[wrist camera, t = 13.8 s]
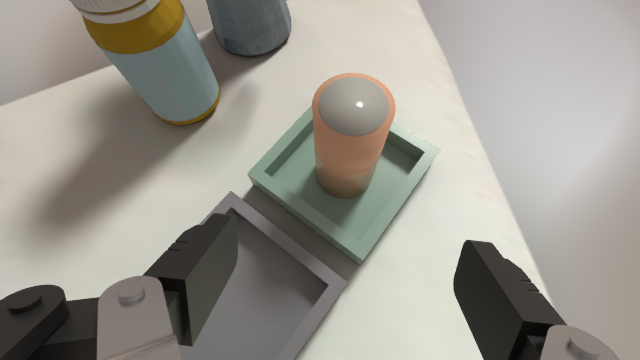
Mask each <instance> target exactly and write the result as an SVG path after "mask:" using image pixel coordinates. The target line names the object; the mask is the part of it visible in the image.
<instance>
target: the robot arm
mask: <svg viewBox="0 0 640 360" xmlns="http://www.w3.org/2000/svg"><path fill="white" fill-rule="evenodd" d="M237 258H238V235H237V218H236V216H235V215H232V214H222V213H213V214H212V215H211V216H210V217H209V218H208V219H207V221H206V222H205V223H204V224H203V225H196V226H194V227H192V228H190V229H188V230H186V231H184V232H183V233H182V234H181V235H180V236H179V238H178V239H177V240H176V241H175V243H173V244H172V245H171V246H170V247H169V248H168V250H166V251H165V252H164V253H163V254H162V256H161V257H160V258H159V259H158V260H157V261H156V262H155V263H154V264H153V265H152V266H151V267H150V268H149V269H148V270H147V271H146V272H145V273H144V275H143V276H135V277H131V278H127V279H124V280H122V281H119V282H117V283H115V284H113V285H112V286H110V287H109V288H108V289H106V290H105V291H104V292H103V294H102V295H101V296H100V297H98V298H89V299H81V300H72V301H66V297H65V294H64V291H63V289H62V288H60V287H58V286H55V285H39V286H34V287H30V288H26V289H23V290H20V291H18V292H15V293H13V294H11V295H9V296H7V297H5V298H3V299H2V300H0V360H182V358H181V354H180V350H179V346H178V345H183V346H191V347H193V345H194V343H195V341H196V340H197V338H198V336H199V334H200V332H201V330H202V328H203V327H204V325H205V323H206V321H207V319H208V317H209V315H210V314H211V312H212V310H213V308H214V306H215V304H216V302H217V301H218V299H219V297H220V295H221V293H222V291H223V290H224V288H225V286H226V284H227V282H228V280H229V278H230V277H231V275H232V273H233V271H234V269H235V266H236V263H237ZM453 286H454V293H455V296H456V299H457V301H458V303H459V305H460V307H461V310H462V312H463V314H464V316H465V319H466V321H467V323H468V325H469V328H470V330H471V332H472V334H473V337H474V339H475V341H476V343H477V345H478V348H479V350H480V352H481V354H482V357H483V359H484V360H619V358H618V357H617V356H616V354H615V353H614V352H613V351H612V350H611V349H610V348H609V347H608V346H607V345H605V344H604V343H603V342H602V341H600V340H599V339H597V338H596V337H594V336H592V335H590V334H589V333H587V332H585V331H582V330H580V329H577V328H574V327H571V326H568V325H567V324H566V323H565V322H564V321H563V319H562V318H561V317H560V316H559V314H558V313H557V312H556V311H555V309H554V308H553V307H552V306H551V305H550V303H549V302H548V301H547V300H546V298H545V297H544V296H543V295H542V294H541V293H539V290H538V289H537V287H536V286H535V285H534V284H533V283H531V280H530V279H529V278H528V276H527V275H526V274H525V273H524V272H523V270H522V269H521V268H519V267H518V266H516V265H515V264H514V263H512V262H511V261H510V260H508V259H504V258H503V257H502V255H501V254H500V253H499V251H498V250H497V249H496V248H495V246H494V245H493V244H492V243H490V242H482V241H473V240H466V241H465V243H464V244H463V247H462V251H461V254H460V258H459V261H458V265H457V268H456V272H455V275H454V282H453Z"/></svg>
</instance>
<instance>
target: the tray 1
mask: <svg viewBox="0 0 640 360" xmlns="http://www.w3.org/2000/svg"><path fill="white" fill-rule="evenodd" d="M439 152H440V149H438V148H437V147H435V146H433V145H432V144H430V143H428V142H427V141H425V140H423V139H422V138H420V137H418V136H417V135H415V134H413V133H412V132H410V131H408V130H407V129H405V128H403V127H402V126H400V125H398V124H397V123H395V122H393V121H392V124H391V127H390V130H389V133H388V135H387V138H386V141H385V144H384V147H383V149H382V152H381V155H380V158H379V161H378V164H377V166H376V169H375V172H374V175H373V178H372V180H371V183H370V185H369V187H368V188H367V189H366V190H365V191H364V192H363V193H362V194H360V195H359V196H357V197H354V198H349V199H340V198H336V197H333V196H331V195H329V194H327V193H326V192H325V191H324V190H323V189H322V188H321V187H320V185H319V183H318V181H317V178H316V167H315V149H314V131H313V114H312V105H311V107H310V108H309V109H308V110H307V111H306V112H305V113H304V114H303V115H302V116H301V117H300V118H299V119H298V120H297V121H296V122H295V124H294V125H293V126H292V127H291V128H290V129H289V130H288V131H287V132H286V133H285V134H284V135H283V136H282V137H281V138H280V139H279V140H278V142H277V143H276V144H275V145H274V146H273V147H272V148H271V149H270V150H269V151H268V152H267V153H266V154H265V155H264V156H263V157H262V158H261V160H260V161H259V162H258V163H257V164H256V165H255V166H254V167H253V168H252V169H251V170H250V171H249V172H248V173H247V174H248V176H249V177H250V179H251V181H252V183H253V185H254V186H256V187H257V188H258V189H260V190H261V191H262V192H264V193H265V194H266V195H268V196H269V197H270V198H272V199H273V200H274V201H276V202H277V203H278V204H279V205H281V206H282V207H283V208H285V209H286V210H287V211H289V212H290V213H291V214H293V215H294V216H295V217H297V218H298V219H299V220H301V221H302V222H303V223H305V224H306V225H307V226H308V227H310V228H311V229H312V230H314V231H315V232H316V233H318V234H319V235H320V236H322V237H323V238H324V239H326V240H327V241H328V242H330V243H331V244H332V245H334V246H335V247H336V248H337V249H339V250H340V251H341V252H343V253H344V254H345V255H347V256H348V257H349V258H351V259H352V260H353V261H355V262H356V263H357V264H359V265H360V264H361V263H362V262H363V260H364V259H365V257H366V256H367V255H368V253H369V252H370V250H371V249H372V247H373V246H374V245H375V243H376V242H377V240H378V239H379V237H380V236H381V235H382V233H383V232H384V230H385V229H386V227H387V226H388V225H389V223H390V222H391V220H392V219H393V217H394V216H395V215H396V213H397V212H398V210H399V209H400V207H401V206H402V205H403V203H404V202H405V200H406V199H407V198H408V196H409V195H410V193H411V192H412V190H413V189H414V188H415V186H416V185H417V183H418V182H419V180H420V179H421V178H422V176H423V175H424V173H425V172H426V170H427V169H428V168H429V166H430V165H431V163H432V162H433V160H434V159H435V158H436V156H437V155H438V153H439Z"/></svg>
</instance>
